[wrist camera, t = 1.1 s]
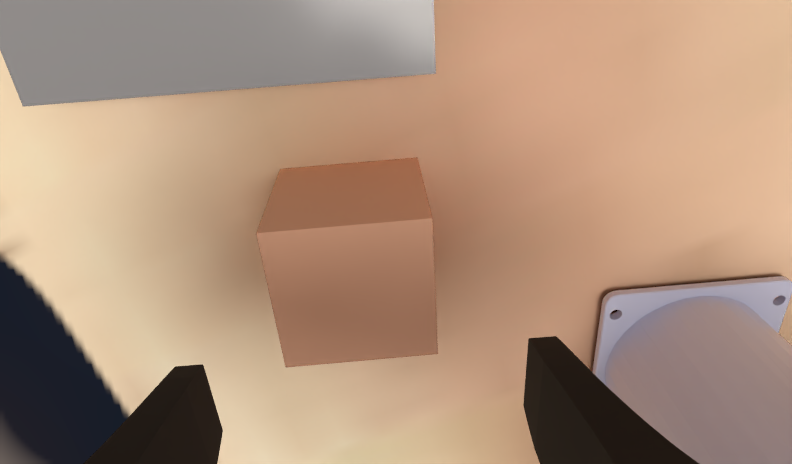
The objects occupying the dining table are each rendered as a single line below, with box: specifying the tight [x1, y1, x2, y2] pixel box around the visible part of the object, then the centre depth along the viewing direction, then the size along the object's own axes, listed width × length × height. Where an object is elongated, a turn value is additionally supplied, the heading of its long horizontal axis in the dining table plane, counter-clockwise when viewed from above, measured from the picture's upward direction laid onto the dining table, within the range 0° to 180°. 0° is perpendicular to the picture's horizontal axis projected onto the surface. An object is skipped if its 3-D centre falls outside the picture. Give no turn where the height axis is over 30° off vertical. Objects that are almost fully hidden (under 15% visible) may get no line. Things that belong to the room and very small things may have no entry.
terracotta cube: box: [256, 158, 438, 367], centre depth 19 cm, size 5×5×5 cm
